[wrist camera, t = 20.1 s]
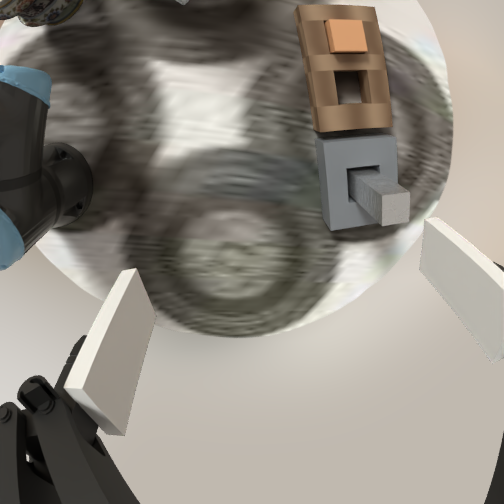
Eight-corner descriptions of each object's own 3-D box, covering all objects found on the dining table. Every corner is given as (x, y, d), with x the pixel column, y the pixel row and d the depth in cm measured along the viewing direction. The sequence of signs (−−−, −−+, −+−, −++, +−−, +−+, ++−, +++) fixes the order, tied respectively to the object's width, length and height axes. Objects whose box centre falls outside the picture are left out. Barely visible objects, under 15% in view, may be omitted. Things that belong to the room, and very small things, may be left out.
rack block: (322, 218, 52) (330, 230, 47) (314, 138, 45) (323, 143, 41) (384, 209, 51) (397, 219, 47) (382, 132, 45) (396, 137, 40)
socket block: (313, 129, 44) (320, 132, 41) (293, 12, 35) (298, 5, 31) (381, 124, 44) (392, 126, 40) (364, 12, 34) (374, 7, 31)
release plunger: (325, 55, 38) (335, 50, 34) (319, 26, 36) (328, 19, 31) (355, 54, 38) (367, 50, 33) (350, 26, 35) (361, 20, 31)
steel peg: (342, 188, 49) (381, 226, 35) (340, 165, 47) (382, 195, 33) (364, 185, 49) (408, 221, 35) (362, 163, 47) (410, 192, 33)
